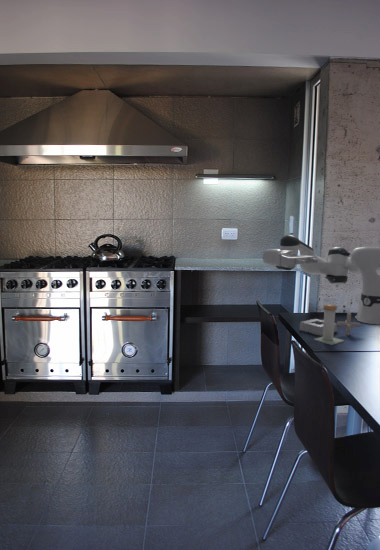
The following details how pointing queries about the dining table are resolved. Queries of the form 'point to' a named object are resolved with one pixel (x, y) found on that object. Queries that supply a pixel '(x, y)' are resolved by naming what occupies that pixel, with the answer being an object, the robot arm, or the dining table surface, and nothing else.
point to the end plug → (329, 322)
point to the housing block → (314, 326)
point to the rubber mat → (334, 341)
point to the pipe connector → (348, 324)
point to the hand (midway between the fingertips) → (311, 261)
